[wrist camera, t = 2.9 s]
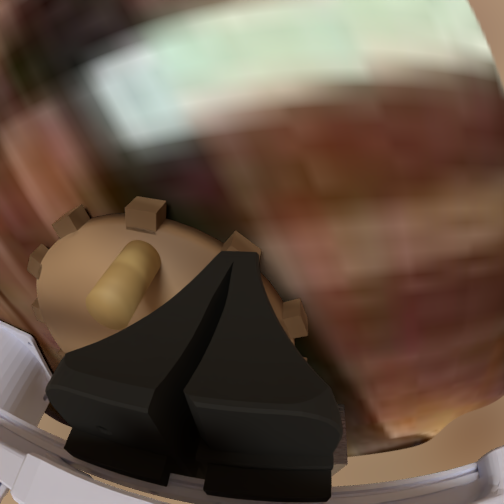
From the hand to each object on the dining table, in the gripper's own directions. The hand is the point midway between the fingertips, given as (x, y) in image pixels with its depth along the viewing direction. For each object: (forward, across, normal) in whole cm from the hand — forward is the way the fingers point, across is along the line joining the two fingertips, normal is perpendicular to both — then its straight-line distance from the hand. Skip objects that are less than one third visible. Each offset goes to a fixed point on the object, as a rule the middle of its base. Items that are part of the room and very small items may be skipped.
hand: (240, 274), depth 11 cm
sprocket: (+3, +6, +7) cm, 9 cm away
